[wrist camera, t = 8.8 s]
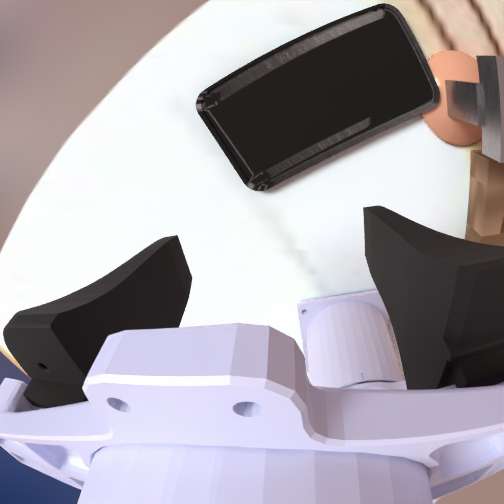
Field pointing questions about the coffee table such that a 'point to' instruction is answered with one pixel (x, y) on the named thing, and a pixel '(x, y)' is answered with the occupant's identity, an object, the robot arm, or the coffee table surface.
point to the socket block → (485, 200)
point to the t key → (482, 104)
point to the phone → (319, 95)
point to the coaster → (437, 118)
